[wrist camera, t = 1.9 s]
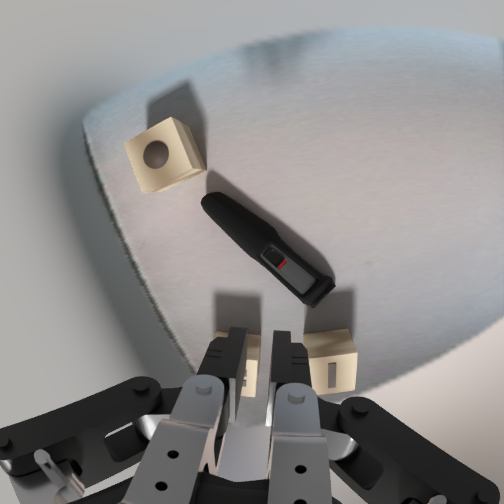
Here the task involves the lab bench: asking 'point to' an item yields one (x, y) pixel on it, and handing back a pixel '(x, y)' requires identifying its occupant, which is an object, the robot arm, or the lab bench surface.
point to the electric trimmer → (267, 248)
